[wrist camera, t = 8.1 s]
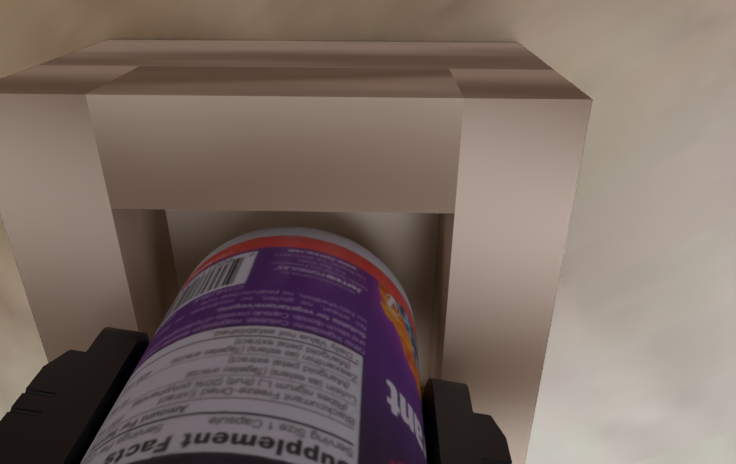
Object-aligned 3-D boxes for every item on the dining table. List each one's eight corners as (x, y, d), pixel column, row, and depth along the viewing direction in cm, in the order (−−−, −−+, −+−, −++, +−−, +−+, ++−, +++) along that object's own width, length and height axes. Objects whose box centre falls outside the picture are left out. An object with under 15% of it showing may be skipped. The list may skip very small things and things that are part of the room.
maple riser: (108, 39, 15) (-40, 92, 10) (519, 42, 15) (592, 99, 10) (171, 360, 20) (95, 509, 15) (479, 366, 20) (514, 520, 15)
